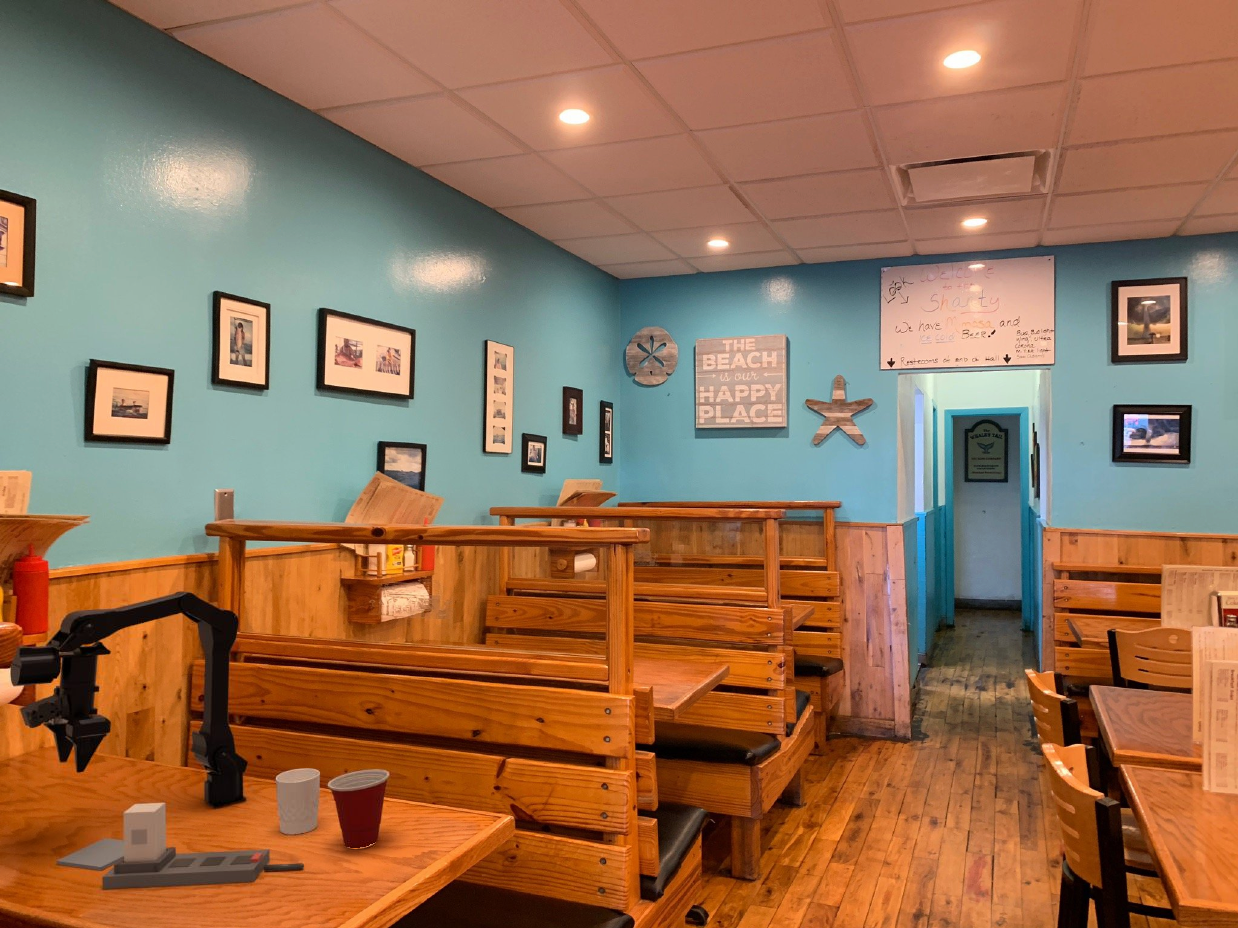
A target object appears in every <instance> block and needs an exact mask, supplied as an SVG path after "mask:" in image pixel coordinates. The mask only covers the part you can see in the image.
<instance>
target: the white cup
mask: <svg viewBox="0 0 1238 928" xmlns="http://www.w3.org/2000/svg"><path fill="white" fill-rule="evenodd" d="M320 778H321V772H320V770H318V769H315V768H307V767H306V768H297V769H295V768H294V769H290V770H287V771H283V772H280V774H277V776H276V777H275V787H276V803H277V815H278V818H279V819H278V820H279V831H280V833H282V834H283V833H284V835H291V836H292V835H295V834H296V835H302V834H301V833H303V834H306V832H307V833H309V832H311V831H313V830H315V829H316V828H317V827H318V816H319V805H320Z"/></svg>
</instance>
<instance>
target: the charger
mask: <svg viewBox="0 0 1238 928" xmlns="http://www.w3.org/2000/svg"><path fill="white" fill-rule="evenodd" d="M166 815H167V814H166V802H155V803H154V802H151V803H134V804H133V805H132V806H131V807H130V808H128V809H126V810H125V811H124V812H123V815H122V816H123V841H124V862H142V861H157V860H158V859H159V858H160V857H161V856H162V855H163V854H164V853H165V852H166V847H167V828H166V827H167V823H166V822H167V821H166V819H167V818H166Z"/></svg>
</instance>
